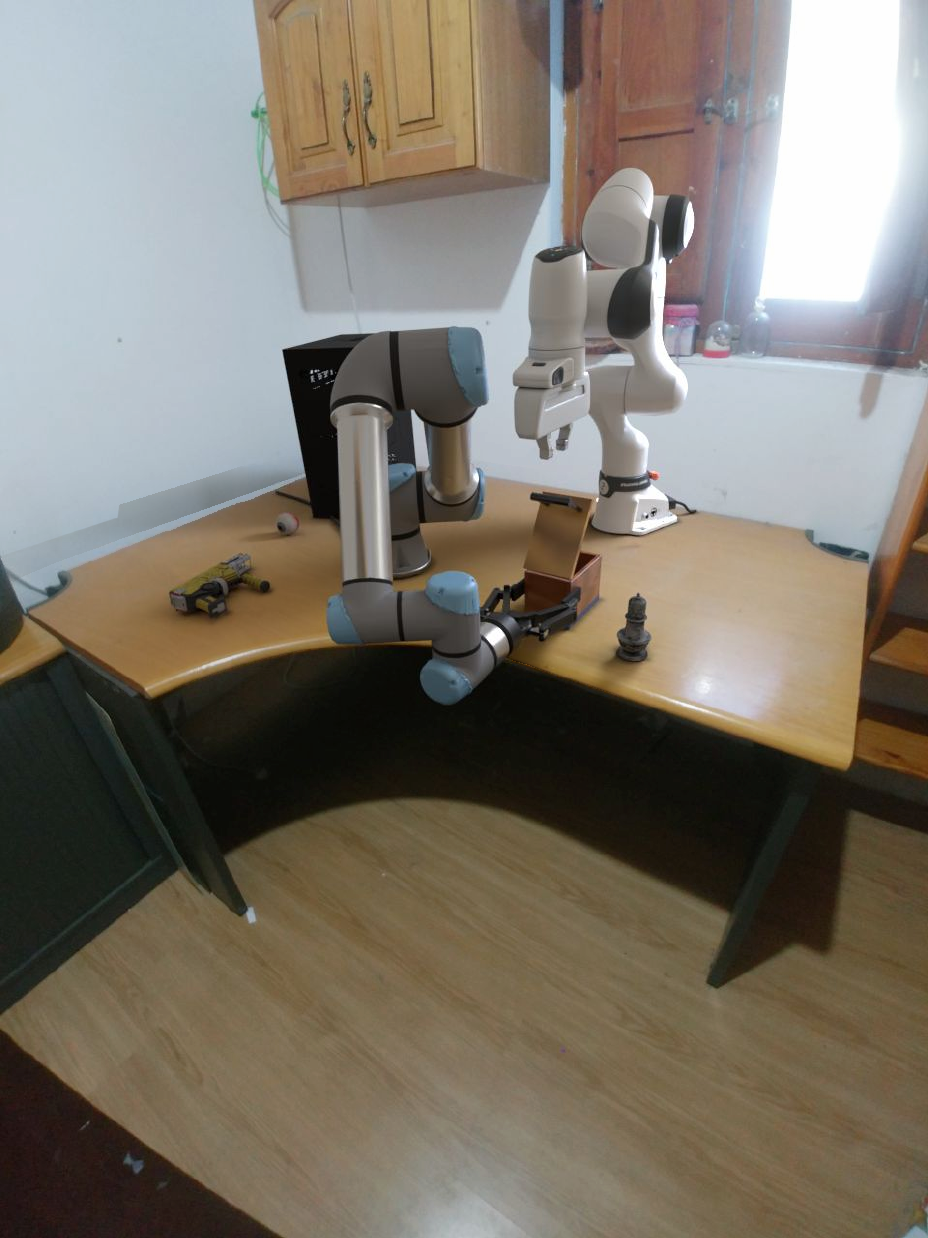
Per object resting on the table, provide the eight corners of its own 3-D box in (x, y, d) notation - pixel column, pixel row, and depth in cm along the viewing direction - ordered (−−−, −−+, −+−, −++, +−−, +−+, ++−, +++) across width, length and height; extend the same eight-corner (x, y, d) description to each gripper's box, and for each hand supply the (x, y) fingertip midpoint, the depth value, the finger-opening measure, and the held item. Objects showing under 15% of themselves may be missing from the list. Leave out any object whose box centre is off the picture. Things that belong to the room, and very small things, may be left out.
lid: (545, 492, 114) (527, 481, 107) (593, 500, 109) (578, 489, 102) (525, 568, 115) (506, 562, 108) (572, 579, 110) (555, 573, 103)
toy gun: (291, 561, 141) (237, 550, 145) (223, 605, 121) (163, 591, 125) (293, 579, 143) (240, 568, 147) (226, 625, 123) (167, 611, 127)
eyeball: (273, 537, 164) (268, 516, 161) (287, 528, 169) (282, 508, 166) (291, 539, 161) (286, 518, 158) (305, 530, 166) (301, 510, 163)
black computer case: (378, 519, 171) (356, 347, 149) (313, 517, 176) (282, 349, 153) (417, 479, 203) (403, 331, 180) (361, 478, 207) (341, 334, 185)
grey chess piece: (650, 663, 103) (658, 601, 97) (615, 660, 105) (620, 600, 99) (648, 644, 108) (655, 585, 102) (614, 642, 110) (620, 583, 104)
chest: (556, 588, 129) (557, 545, 124) (599, 599, 124) (602, 554, 119) (524, 616, 120) (524, 571, 115) (569, 629, 115) (571, 582, 110)
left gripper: (439, 641, 108) (504, 591, 124) (551, 679, 96) (607, 618, 112) (436, 605, 104) (503, 558, 120) (552, 639, 93) (610, 582, 108)
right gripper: (567, 356, 104) (564, 437, 111) (506, 376, 90) (507, 467, 97) (601, 357, 101) (596, 441, 108) (544, 378, 87) (542, 472, 94)
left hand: (553, 587), depth 116 cm, fingers closed on chest, 10 cm apart
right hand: (554, 453), depth 102 cm, fingers open, 4 cm apart
